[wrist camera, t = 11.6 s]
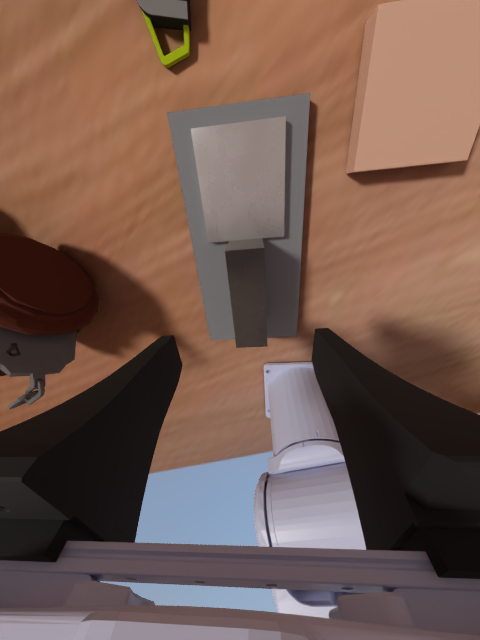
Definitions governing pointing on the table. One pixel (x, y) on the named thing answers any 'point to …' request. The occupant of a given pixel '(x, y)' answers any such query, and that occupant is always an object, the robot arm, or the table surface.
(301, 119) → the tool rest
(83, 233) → the table surface
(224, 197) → the turner
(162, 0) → the toy gun
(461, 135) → the block
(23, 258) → the gavel
